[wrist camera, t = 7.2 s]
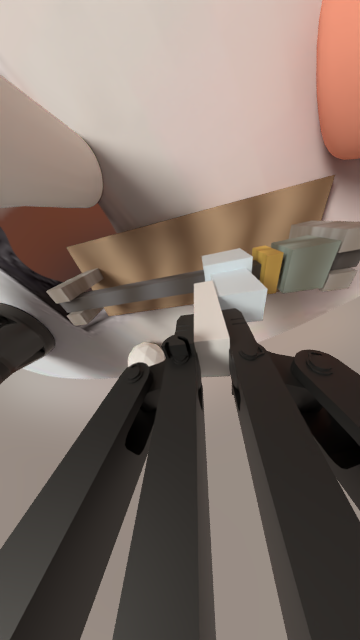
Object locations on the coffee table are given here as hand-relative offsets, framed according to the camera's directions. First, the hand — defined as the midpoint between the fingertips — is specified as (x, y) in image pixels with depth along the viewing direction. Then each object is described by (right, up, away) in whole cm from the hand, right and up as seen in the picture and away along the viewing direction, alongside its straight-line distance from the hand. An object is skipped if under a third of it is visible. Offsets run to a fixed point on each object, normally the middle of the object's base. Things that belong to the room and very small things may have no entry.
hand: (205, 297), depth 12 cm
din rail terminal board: (-1, +6, +9) cm, 11 cm away
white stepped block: (+3, +4, +4) cm, 6 cm away
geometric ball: (-9, -8, +21) cm, 24 cm away
